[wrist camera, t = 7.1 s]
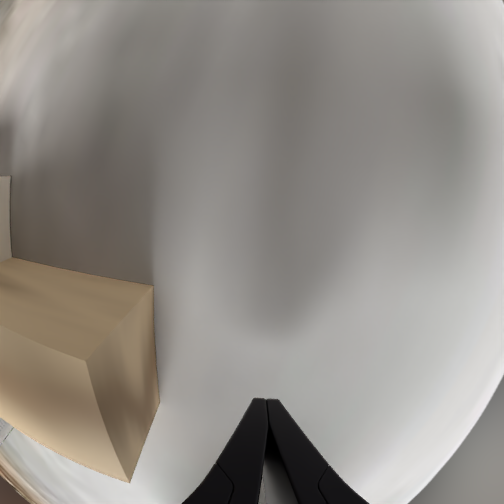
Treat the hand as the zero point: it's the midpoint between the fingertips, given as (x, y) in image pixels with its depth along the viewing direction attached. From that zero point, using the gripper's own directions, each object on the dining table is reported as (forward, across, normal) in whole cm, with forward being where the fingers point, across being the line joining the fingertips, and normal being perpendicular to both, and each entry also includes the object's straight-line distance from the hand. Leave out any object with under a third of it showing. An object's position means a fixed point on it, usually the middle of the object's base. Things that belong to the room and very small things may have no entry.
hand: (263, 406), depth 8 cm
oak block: (+2, +8, 0) cm, 9 cm away
